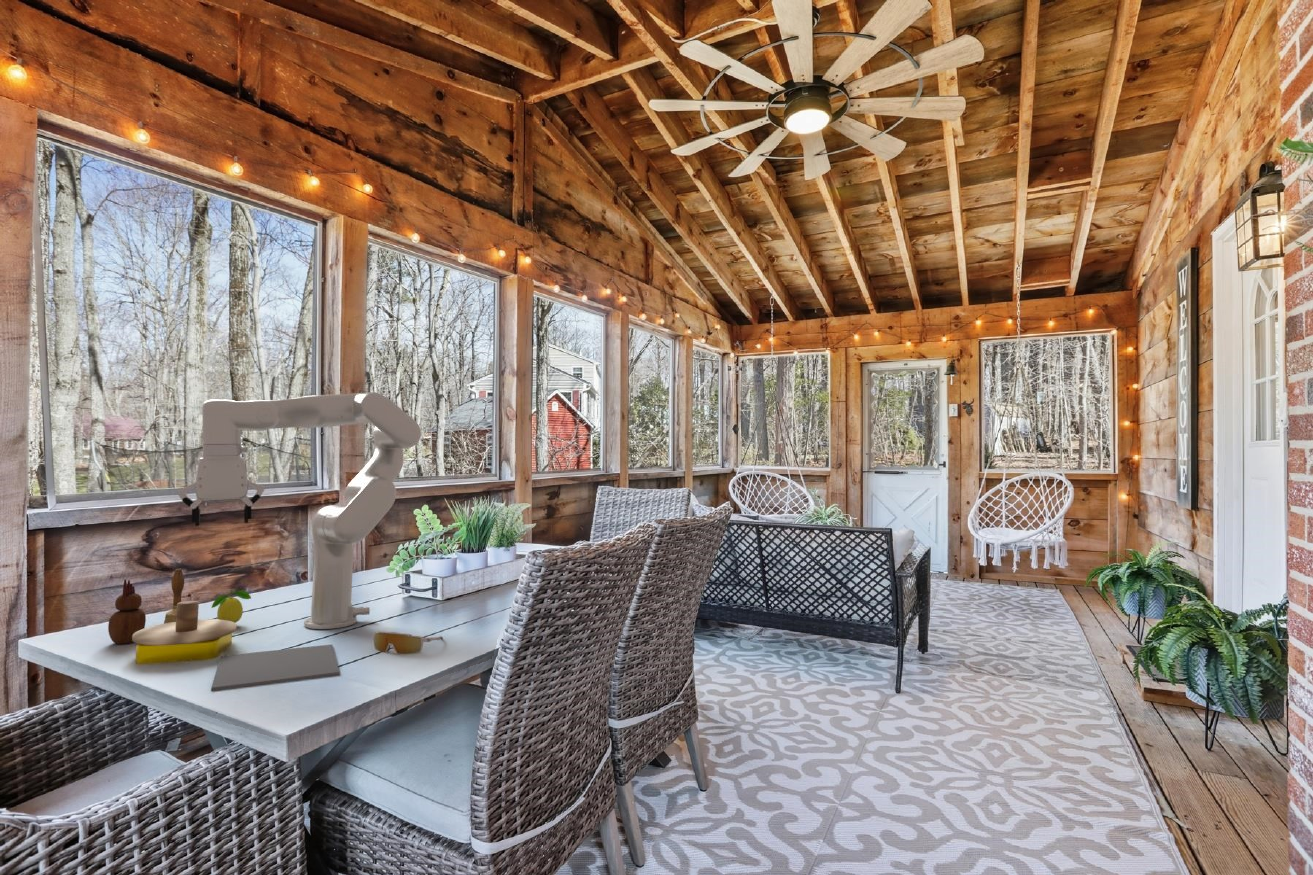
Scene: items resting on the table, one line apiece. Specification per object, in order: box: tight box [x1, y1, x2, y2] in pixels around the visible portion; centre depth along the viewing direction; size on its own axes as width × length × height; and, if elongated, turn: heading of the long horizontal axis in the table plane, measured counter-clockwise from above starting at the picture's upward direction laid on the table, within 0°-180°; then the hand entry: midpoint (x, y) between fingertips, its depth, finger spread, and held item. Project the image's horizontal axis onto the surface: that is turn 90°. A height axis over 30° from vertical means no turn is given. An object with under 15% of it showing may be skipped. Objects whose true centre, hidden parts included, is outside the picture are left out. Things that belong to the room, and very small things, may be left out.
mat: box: [210, 643, 341, 692], centre depth 139 cm, size 22×22×1 cm
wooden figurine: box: [107, 578, 147, 645], centre depth 153 cm, size 7×6×15 cm
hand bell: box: [163, 568, 185, 624], centre depth 161 cm, size 8×8×16 cm
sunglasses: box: [373, 631, 444, 655], centre depth 157 cm, size 14×15×5 cm
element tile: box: [135, 633, 233, 665], centre depth 147 cm, size 15×15×5 cm
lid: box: [132, 600, 237, 645], centre depth 147 cm, size 19×19×7 cm
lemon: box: [211, 587, 252, 624], centre depth 169 cm, size 7×6×10 cm
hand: (222, 523), depth 155 cm, fingers open, 9 cm apart
